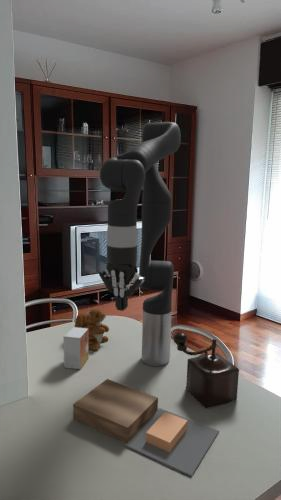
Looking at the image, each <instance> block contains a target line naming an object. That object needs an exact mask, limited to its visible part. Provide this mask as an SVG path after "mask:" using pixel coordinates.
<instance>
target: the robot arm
mask: <svg viewBox="0 0 281 500" xmlns="http://www.w3.org/2000/svg"><path fill="white" fill-rule="evenodd" d="M180 129H181V128H180V127H179V125H178V124H177V123H175V122H172V121H163V122H162V121H159V122H148V123H146V124H145V125H144V127H143V129H142V135H141V142H139V143H137V144H136V145H134V146H132V147H131V148H130V149H129V150H127V151H126V152H124V153H120V154H117V155H115V156H112V157H110V158H107V159H106V161H104V162H103V164H102V165H101V167H100V171H99V178H100V179H99V180H100V181H101V184H102V185H103V186H104V187H105V188H106V189H108V190H116V191H117V190H118V191H119V190H120V191H126V192H125V195H124V197H123V198H121V199H113V200H111V201H109V203H108V205H107V229H106V261H107V264H106V267H105V269H104V270H101V271H99V272H98V276H99V277H100V279H101V281H102V282H103V284H104V285H105V288H106V289H107V291H108V292H109V293H112V294H113V295H114V296H115V297H114V298H115V302H114V303H115V308H116V310H117V311H120V312H123V311H125V310H126V309H127V308H128V304H129V303H128V302H129V299H128V298H129V297H130V296H131V295H133V294H135V293H137V291H138V289H140V288H141V289H142V290H148V291H149V290H151V291H152V290H153V291H161V292H160V293H158V294H155V295H154V296H150V297H147V298H146V299H144V300H143V302H142V323H141V325H142V327H141V328H142V329H141V331H142V332H141V361H142V362H143V363H144V364H145V365H149V366H153V367H161V366H165V365H167V364H168V363H169V362H170V357H171V342H172V341H171V338H172V308H173V307H172V306H173V304H172V303H173V302H172V300H173V299H172V298H173V288H174V287H173V285H174V277H175V276H174V274H175V273H174V271H175V270H174V269H175V267H174V264H173V263H172V261H168V260H151V255H152V252H153V249H155V246H156V244H157V242H158V240H159V239H160V237H161V236H162V235H163V233H165V230H166V229H167V227H168V226H169V225H170V222H171V220H172V209H173V208H172V207H173V205H172V203H173V198H172V194H171V192H170V191H169V189H168V186H167V185H166V183H165V181H164V179H163V178H162V176H161V173H160V172H159V169H158V164H157V163H158V162H159V161H161V160H163V159H165V158H166V157H168V156H170V155H172V154H174V153H176V152H177V151H178V150H179V148H180V145H181V139H182V137H181V136H182V135H181V130H180ZM141 193H142V194H141ZM141 195H142V196H141ZM140 196H141V197H142V199H141V244H140V254H139V255H140V257H139V268H137V261H138V229H137V227H138V225H137V221H138V219H137V218H138V217H137V216H138V215H137V213H138V212H137V211H138V205H139V201H140ZM132 282H133V283H132ZM131 283H132V284H131Z"/></svg>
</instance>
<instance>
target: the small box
mask: <svg viewBox="0 0 281 500" xmlns="http://www.w3.org/2000/svg"><path fill="white" fill-rule="evenodd" d="M89 350H90V349H89V329H87V328H78V327H74V326H73V327H71V328H70V329H69V331H68V332H67V333H66V334H65V335H63V368H64V369H74V370H81V369H82V368H83V366H84V365H85V364H86V362H87V361H88V360H89V357H90V354H89V353H90V352H89Z"/></svg>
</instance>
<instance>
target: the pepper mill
mask: <svg viewBox="0 0 281 500" xmlns="http://www.w3.org/2000/svg"><path fill="white" fill-rule="evenodd" d="M172 339H173V342H174V343H175V345H177V346H176V349H177V351H180V352H182V353H184V354H185V355H189V356H196V357H190V358H187V365H186V383H185V384H186V385H185V390H186V391H187V392H188V394H190V395H191V397H192V398H193V399H194V400H195V401H197V402H198V404H199V405H201V406H203V407H204V409H210V408H215V407H219V406H222V405H226V404H228V403H231V402H234V401H237V400H238V389H239V388H238V387H239V375H240V369H239V368H238V366H236V365H235V364H233V363H231V362H230V361H229V360H228V359H226V358H225V357H223V356H222V355H221V354H219V353H218V352H216V348H217V345H218V344H217V343H218V342H217V339H216V338H212V339H211V345H210V346H207V347H206V348H204V349H201V350H197V351H189V350H187V349H188V346H187V344H186V343H187V341H188V336H187V334H186V333H184V332H177V333H176V334H174V335H173V337H172ZM209 351H211V353H208V352H209Z"/></svg>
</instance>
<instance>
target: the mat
mask: <svg viewBox="0 0 281 500" xmlns="http://www.w3.org/2000/svg"><path fill="white" fill-rule="evenodd" d="M164 412H167V413H170V414H172V415H175V416H177V417H180V418H183V419H185V420H188V423H187V430H186V432H185V433H184V434H183V436H182V437H181V438H180V440H179V441H178V442H177V443H176V445H175V446H174V447H173V449H172V450H171V451H170V452H167V451H165V450H163V449H161V448H158V447H156V446H154V445H152V444H150V443H147V442H146V432H147V431H148V430H149V429H150V428H151V427H152V425H153V424H154V423H155V422H156V421H157V420H158V419H159V418H160V417H161V416H162V415H163V413H164ZM219 433H220V430H218V429H216V428H212V427H211V426H208V425H205V424H203V423H200V422H197V421H195V420H192V419H190V418H187V417H184V416H181V415H179V414H176V413H174V412H171V411H168V410H165V409H163V408H160V407H158V410H157V411H156V412H155V413H154V414H153V416H152V417H151V418H150V419H149V420H148V421H147V422H146V423H145V424H144V425H143V426H142V427H141V428H140V429H139V430H138V431H137V433H136V434H135V435H134V436H133V437H132V438H131V439H130V440H129V441H128V442H127V443H125V444H124V447H126V448H128V449H130V450H132V451H135V452H137V453H139V454H141V455H143V456H145V457H147V458H150V460H151V459H152V460H154V461H156V462H158V463H160V464H162V465H164V466H167V467H168V468H171V469H173V470H175V471H178V472H180V473H182V474H184V475H186V476H187V477H191V478H192V477H193V475H194V474H195V472H196V470H197V469H198V467H199V465H201V462H202V460H203V459H204V457H205V456H206V454H207V453H208V451H209V449H210V447H211V446H212V444H213V443H214V441H215V439H216V438H217V436H218V434H219Z"/></svg>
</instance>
